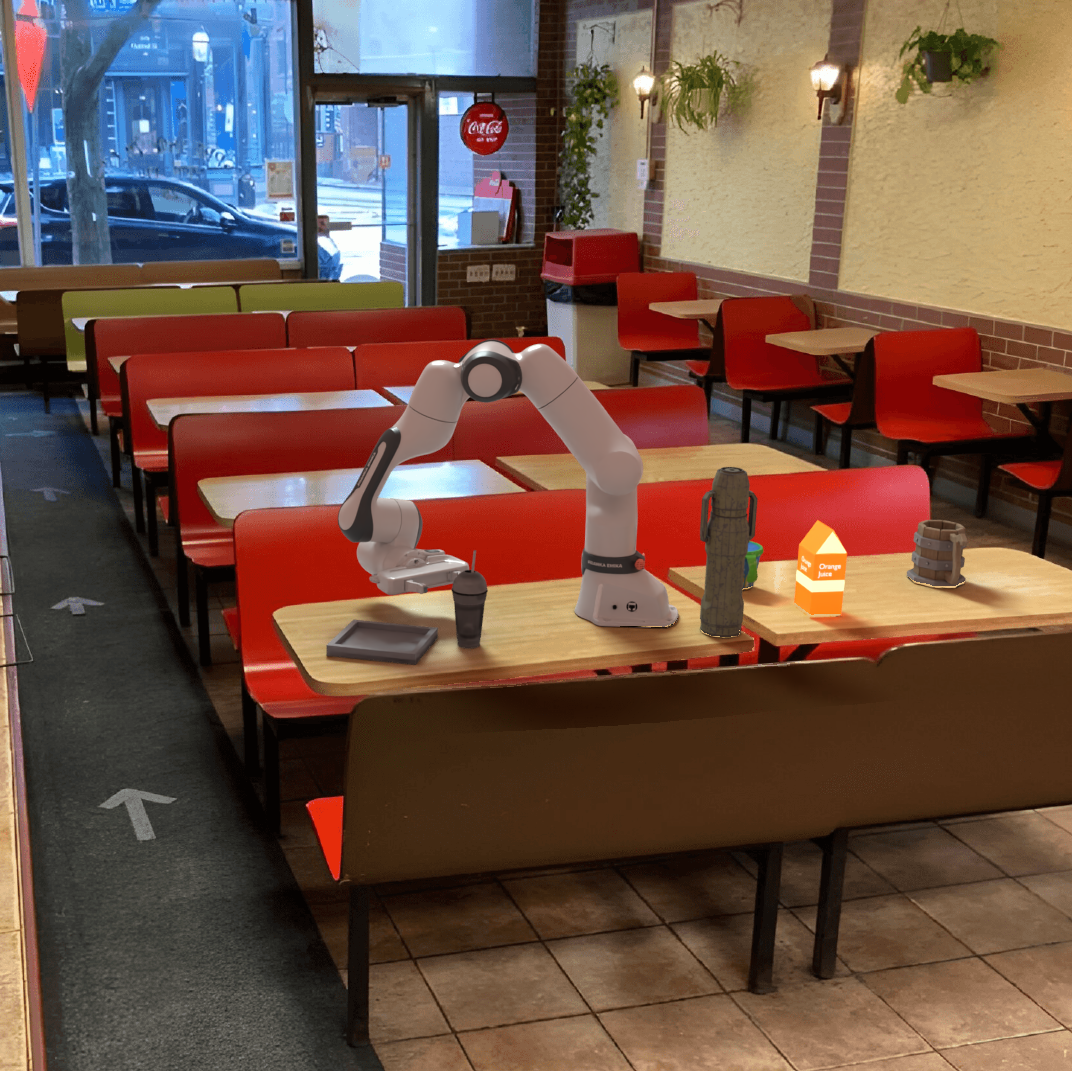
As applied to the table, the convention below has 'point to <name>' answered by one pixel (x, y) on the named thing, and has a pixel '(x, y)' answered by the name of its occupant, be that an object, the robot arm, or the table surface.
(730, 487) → the thermos
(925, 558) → the tankard
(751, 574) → the snack cup
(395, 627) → the tray
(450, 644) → the table surface
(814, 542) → the orange juice
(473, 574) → the beverage cup
